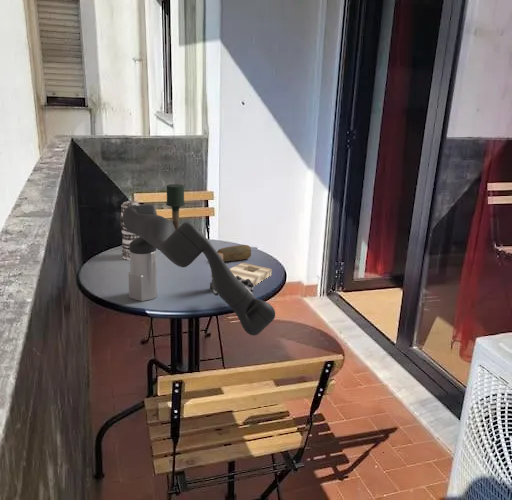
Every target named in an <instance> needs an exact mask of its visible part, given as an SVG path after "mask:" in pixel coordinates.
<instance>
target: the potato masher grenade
mask: <svg viewBox="0 0 512 500" xmlns="http://www.w3.org/2000/svg"><path fill="white" fill-rule="evenodd" d="M165 205H166V206H168V207H171V217H172V223H173V225H174V227H175V230H177V229H178V228H179V227H180V225H179V222H180V221H179V219H180V207H184V206H185V205H186V203H185V186H184V184H177V183H172V184H167V185H166V203H165Z"/></svg>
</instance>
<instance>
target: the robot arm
mask: <svg viewBox="0 0 512 500" xmlns="http://www.w3.org/2000/svg"><path fill="white" fill-rule="evenodd" d="M123 223H124V226H125V228H126V229H127V230H128V231H129V232H130V233H133V234H136V235H138V236H140V237H139V238H137V239H135V240H133V241H132V242H130V244H129V251H130V260H129V269H130V270H129V272H128V273H127V274H128V275H127V278H128V293H129V297H128V298H130V299H132V300H136V301H139V302H145V301H150V300H153V299H155V298H157V297H158V272H157V271H158V269H157V267H158V266H157V265H158V263H157V250H159V251H160V253H162V254H163V255H164V256H165V257H166V258H167V259H168V260H169V261H170V262H171V263H172V264H174V265H175V266H176V267H177V266H178V267H179V268H186V267H188V266H190V265H191V264H192V263H193V262H194V261H195V260H196V259H197V258H198V257H199V256H200V255H201V254H202V253H203V254H204V256H205V258H206V259H207V261H208V264H209V267H210V271H211V277H212V276H213V280H212V279H211V282H210V283H209V291H210V292H211V293H212V294H213V295H214V296H219V297H220V298H221V300H223V302H225V304H226V305H227V306H229V307H230V309H232V311H233V312H234V313H235V315H236V317H237V318H238V320H239V322H240V324H241V327H242V328H243V330H244V331H245V332H246V333H247V334H248V335H250V336H258V335H259V334H261V333H262V332H263V331H264V329H266V327H268V326H269V325H270V324H271V323H272V322H273V321H274V320H275V318H276V311H275V309H274V307H273V306H272V305H271V303H269V302H267V301H264V300H262V299H259V298H257V297H256V296H255V295H254V293H253V292H254V287H253V283H252V282H251V281H250V280H249V279H246V280H244V279H242V278H241V277H239V276H236V277H235V276H234V275H233V273H232V272H231V271H230V269H231V268H230V267H228V265H227V264H226V263H225V261H223V260H222V258H221V257H220V256H219V254H218V253H217V250H216V249H215V248H214V247H213V245H212V243H211V242H210V241H209V240H208V238H207V237H206V236H205V235H204V234H203V232H202V231H200V229H199V228H197V227H196V226H195V225H194V224H192V223H190V222H183V223H181V225H179V228H178V229H177V230H175V227H174V225H173V221H170V220H169V219H167V218H166V217H164V216H161V215H159V214H158V213H157V209H156V208H155V206H154V205H153V204H139V205H136V206H129V207H127V208H126V209H125V210H124V212H123ZM123 223H122V224H123Z"/></svg>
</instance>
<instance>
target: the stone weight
mask: <svg viewBox="0 0 512 500" xmlns="http://www.w3.org/2000/svg"><path fill="white" fill-rule="evenodd" d="M216 252H217V253H222V254H223V261H224V262H234V261H236V262H237V261H243V260H246V259H249V258H251V256H252V249H251V246H250V245H248V244H241V245H233V246H225V247H222V248H219V249H218V250H216Z"/></svg>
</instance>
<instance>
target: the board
mask: <svg viewBox="0 0 512 500" xmlns="http://www.w3.org/2000/svg"><path fill="white" fill-rule="evenodd" d="M229 269H230V271H231V272H232V273H233V275H234V276H235V277H236V276H239V277H241V278H242V279H244V280H246V279H249V280H250V281H251V282H252V283H253V286H254V287H256V286H257V285H259V284H261V283H262V282H264V281H265V280H267V279H268V277H269V276H270V277H272V268H269V267H263V266H259V265H255V264H251V263H245V262H241V263H239V264H237V265H234V266H233V267H230V268H229ZM270 277H269V278H270ZM266 278H267V279H266ZM264 279H265V280H264ZM263 280H264V281H263ZM261 281H262V282H261ZM260 282H261V283H260ZM258 283H259V284H258ZM255 285H256V286H255Z"/></svg>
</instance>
